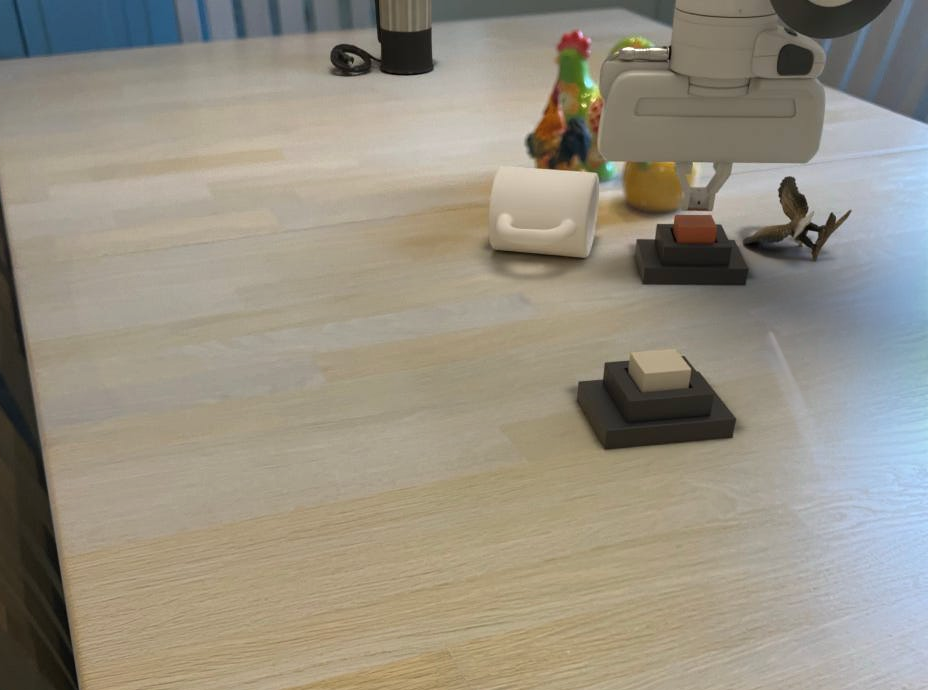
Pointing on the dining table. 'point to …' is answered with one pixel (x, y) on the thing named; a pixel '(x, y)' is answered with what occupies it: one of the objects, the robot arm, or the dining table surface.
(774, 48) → the robot arm
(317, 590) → the dining table surface
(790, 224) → the eagle figurine
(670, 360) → the cream key
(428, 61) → the milk frother
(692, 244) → the dark grey stepped base
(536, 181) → the mug
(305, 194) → the dining table surface
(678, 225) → the terracotta key
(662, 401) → the black stepped base
